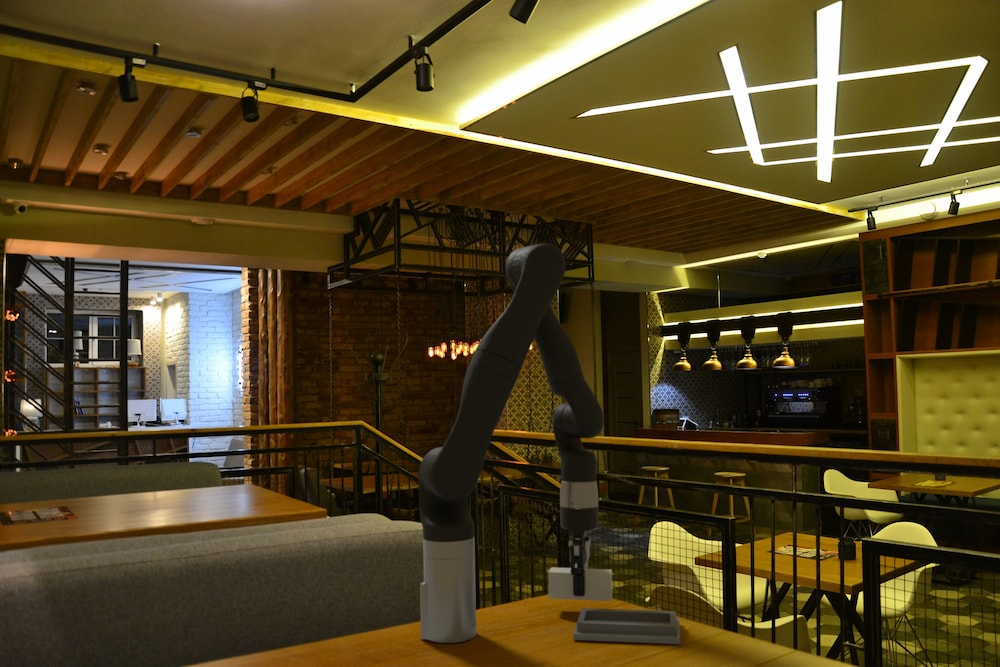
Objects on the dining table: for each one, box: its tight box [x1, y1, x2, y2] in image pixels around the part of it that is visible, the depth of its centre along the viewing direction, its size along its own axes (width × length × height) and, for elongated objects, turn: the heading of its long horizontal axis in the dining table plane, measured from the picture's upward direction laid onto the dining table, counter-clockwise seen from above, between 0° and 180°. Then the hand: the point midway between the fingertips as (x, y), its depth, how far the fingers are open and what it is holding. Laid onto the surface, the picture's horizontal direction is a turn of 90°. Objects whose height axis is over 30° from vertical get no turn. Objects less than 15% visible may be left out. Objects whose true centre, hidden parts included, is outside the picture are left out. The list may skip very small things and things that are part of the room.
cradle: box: [573, 607, 682, 645], centre depth 137 cm, size 12×18×2 cm, turn 79°
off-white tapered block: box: [548, 567, 613, 602], centre depth 151 cm, size 4×12×5 cm, turn 79°
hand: (580, 591), depth 151 cm, fingers closed on off-white tapered block, 4 cm apart
